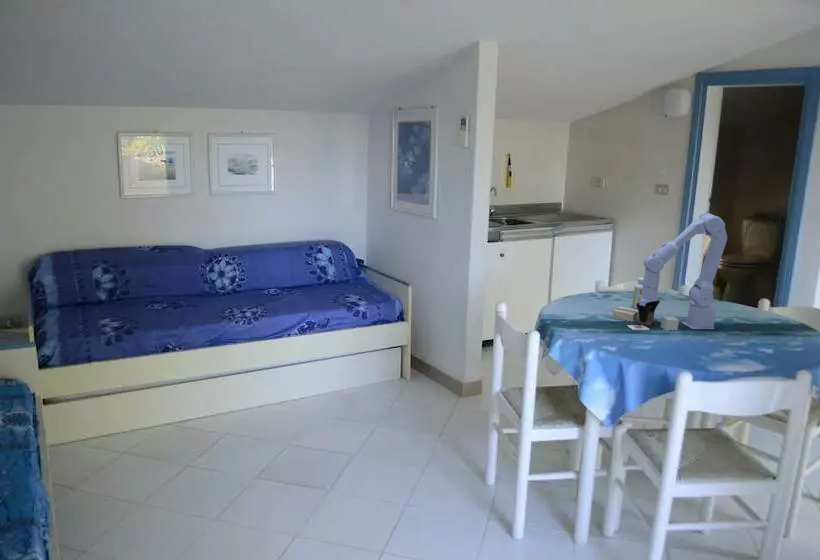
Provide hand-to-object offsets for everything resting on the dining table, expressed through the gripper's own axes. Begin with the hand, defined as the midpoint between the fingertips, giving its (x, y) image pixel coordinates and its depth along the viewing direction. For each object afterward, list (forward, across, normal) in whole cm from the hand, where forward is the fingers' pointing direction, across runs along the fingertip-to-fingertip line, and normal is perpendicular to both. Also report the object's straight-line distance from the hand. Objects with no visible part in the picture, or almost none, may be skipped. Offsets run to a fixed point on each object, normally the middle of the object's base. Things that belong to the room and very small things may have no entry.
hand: (645, 319), depth 259 cm
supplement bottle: (+2, -20, -9) cm, 23 cm away
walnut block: (+2, 0, 0) cm, 2 cm away
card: (+1, +8, 0) cm, 9 cm away
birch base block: (+2, -1, -8) cm, 9 cm away
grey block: (+2, +1, +9) cm, 9 cm away
